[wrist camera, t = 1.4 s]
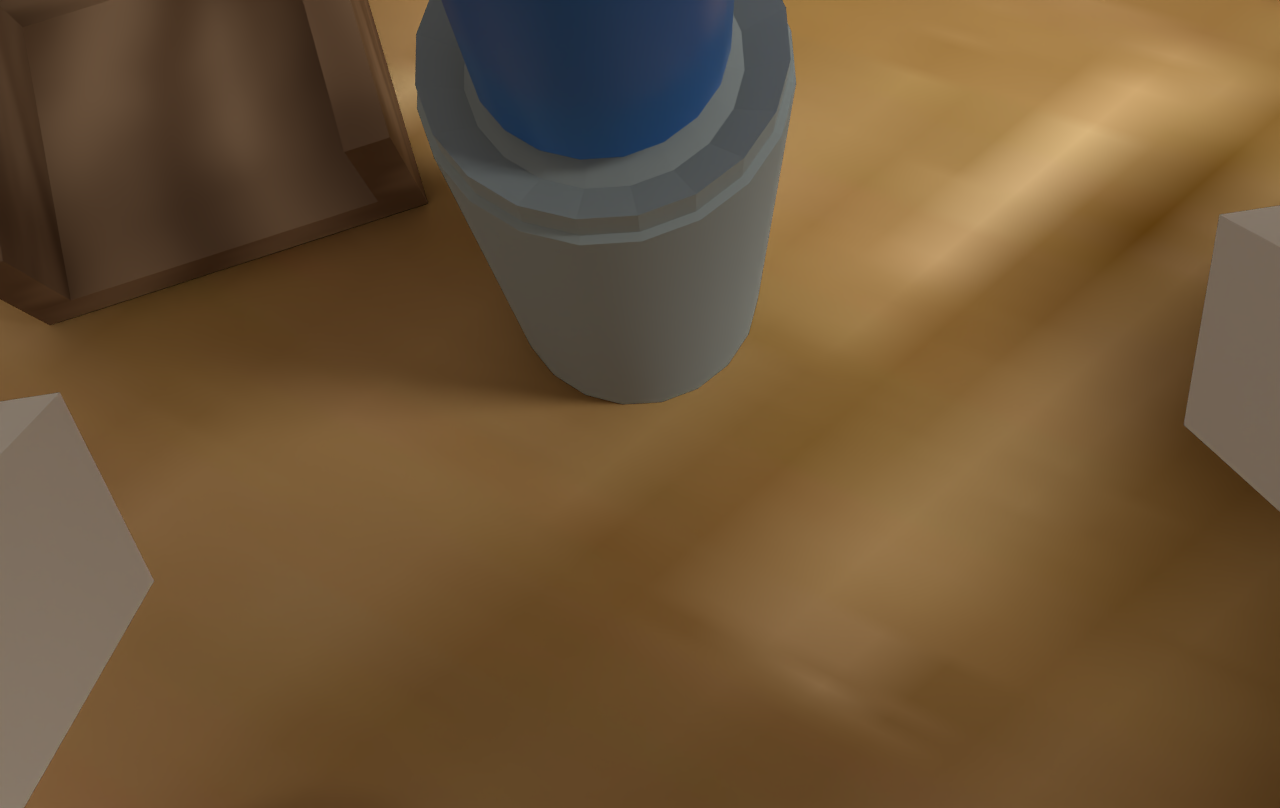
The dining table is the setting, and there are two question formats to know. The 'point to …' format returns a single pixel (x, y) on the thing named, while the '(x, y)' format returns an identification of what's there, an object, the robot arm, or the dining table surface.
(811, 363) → the dining table surface
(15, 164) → the rest
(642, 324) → the blue and grey bottle
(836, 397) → the dining table surface
